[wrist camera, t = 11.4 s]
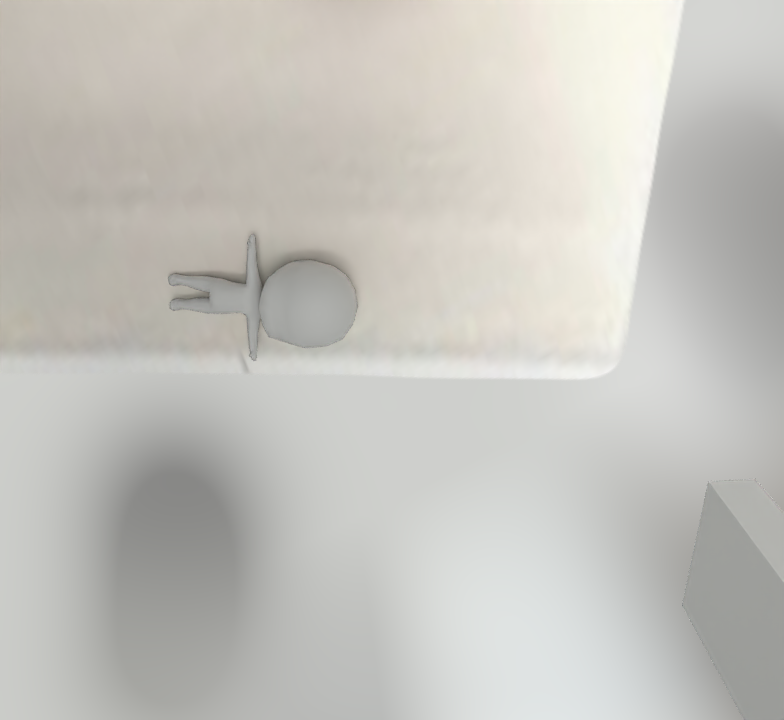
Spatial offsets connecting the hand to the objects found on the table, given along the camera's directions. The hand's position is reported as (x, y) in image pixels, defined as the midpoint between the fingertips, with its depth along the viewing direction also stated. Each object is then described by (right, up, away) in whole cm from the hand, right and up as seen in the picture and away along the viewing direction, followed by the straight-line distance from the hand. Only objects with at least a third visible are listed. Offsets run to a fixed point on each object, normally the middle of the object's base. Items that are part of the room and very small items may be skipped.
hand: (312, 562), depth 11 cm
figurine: (-13, +8, +31) cm, 35 cm away
